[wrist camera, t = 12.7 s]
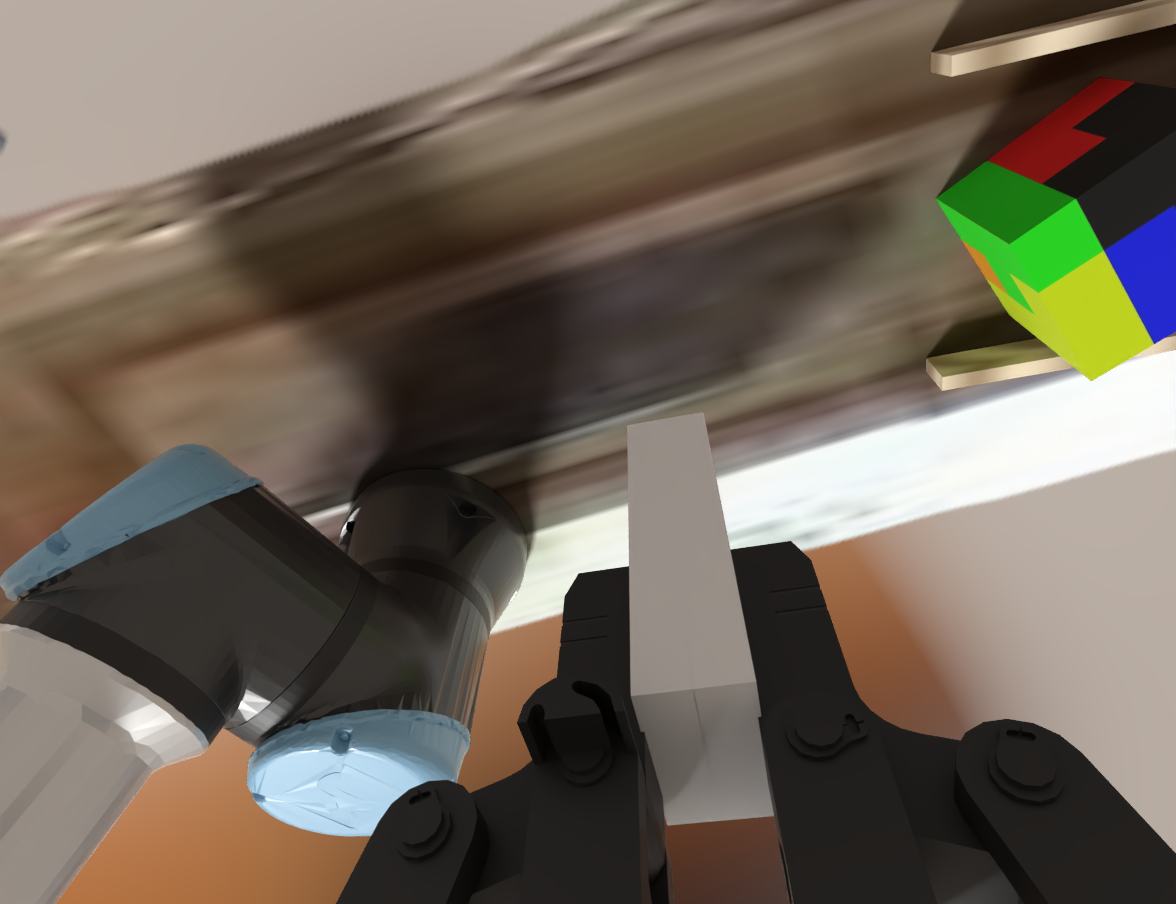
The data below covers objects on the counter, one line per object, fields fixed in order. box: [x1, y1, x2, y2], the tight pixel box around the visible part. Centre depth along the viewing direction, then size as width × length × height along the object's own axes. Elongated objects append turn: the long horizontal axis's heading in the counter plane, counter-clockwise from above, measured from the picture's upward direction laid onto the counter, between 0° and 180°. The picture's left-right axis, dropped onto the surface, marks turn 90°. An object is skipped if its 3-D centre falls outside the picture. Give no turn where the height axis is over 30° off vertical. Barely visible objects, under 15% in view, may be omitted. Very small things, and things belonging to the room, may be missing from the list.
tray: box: [926, 0, 1176, 391], centre depth 43 cm, size 18×20×3 cm
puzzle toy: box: [936, 77, 1176, 381], centre depth 40 cm, size 10×10×10 cm
